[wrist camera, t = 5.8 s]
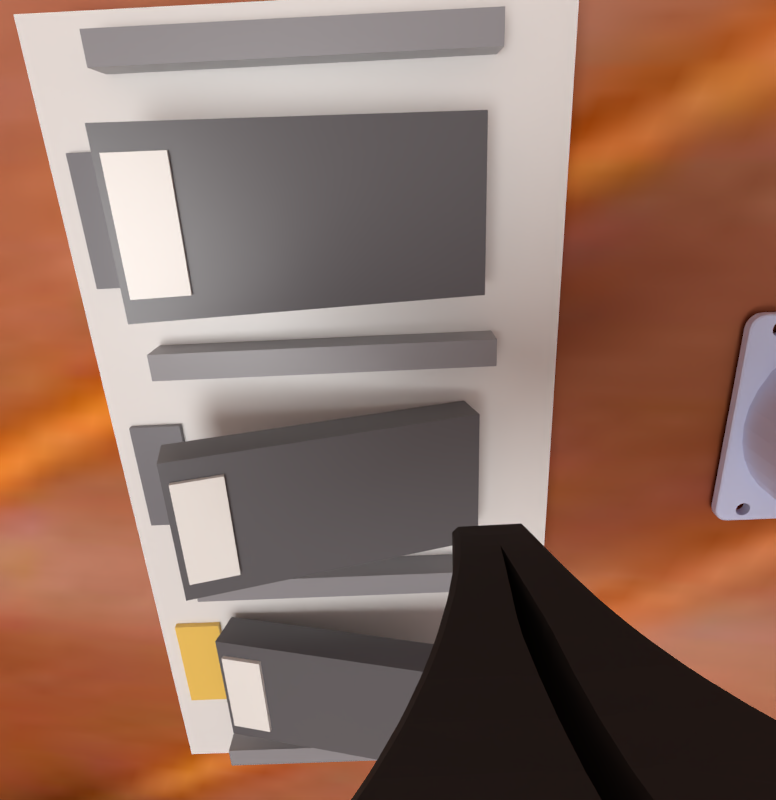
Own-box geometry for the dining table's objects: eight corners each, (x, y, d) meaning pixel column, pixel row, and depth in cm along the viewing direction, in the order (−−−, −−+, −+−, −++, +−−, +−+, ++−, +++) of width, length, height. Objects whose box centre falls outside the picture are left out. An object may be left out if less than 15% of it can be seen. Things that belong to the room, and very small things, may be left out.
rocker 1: (472, 115, 15) (489, 109, 13) (471, 287, 16) (486, 295, 15) (100, 127, 13) (82, 122, 12) (139, 313, 15) (126, 325, 14)
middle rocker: (464, 400, 18) (481, 416, 17) (463, 520, 20) (479, 542, 18) (161, 445, 16) (156, 466, 15) (188, 575, 17) (185, 604, 16)
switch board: (552, 11, 16) (593, -30, 13) (518, 690, 26) (537, 765, 23) (65, 36, 17) (-13, 3, 13) (209, 702, 26) (183, 777, 23)
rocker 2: (482, 650, 19) (478, 683, 18) (480, 745, 20) (477, 781, 19) (231, 616, 21) (213, 644, 20) (247, 705, 22) (231, 736, 21)
